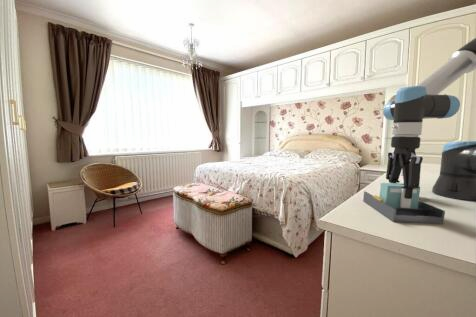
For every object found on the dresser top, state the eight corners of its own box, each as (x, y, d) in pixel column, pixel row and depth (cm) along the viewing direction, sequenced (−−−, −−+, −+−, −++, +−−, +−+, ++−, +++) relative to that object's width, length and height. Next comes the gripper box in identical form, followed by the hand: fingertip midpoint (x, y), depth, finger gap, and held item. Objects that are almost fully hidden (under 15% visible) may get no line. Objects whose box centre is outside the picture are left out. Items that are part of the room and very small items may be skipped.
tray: (401, 202, 82) (402, 191, 82) (443, 224, 64) (445, 209, 63) (362, 201, 84) (363, 189, 83) (392, 221, 65) (393, 207, 64)
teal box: (408, 206, 75) (411, 184, 74) (417, 210, 71) (420, 187, 70) (378, 204, 76) (381, 182, 75) (385, 209, 72) (388, 185, 71)
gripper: (378, 135, 80) (372, 195, 83) (413, 136, 61) (405, 214, 64) (399, 135, 79) (393, 196, 82) (442, 136, 61) (432, 215, 64)
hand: (398, 203), depth 73 cm, fingers open, 6 cm apart
